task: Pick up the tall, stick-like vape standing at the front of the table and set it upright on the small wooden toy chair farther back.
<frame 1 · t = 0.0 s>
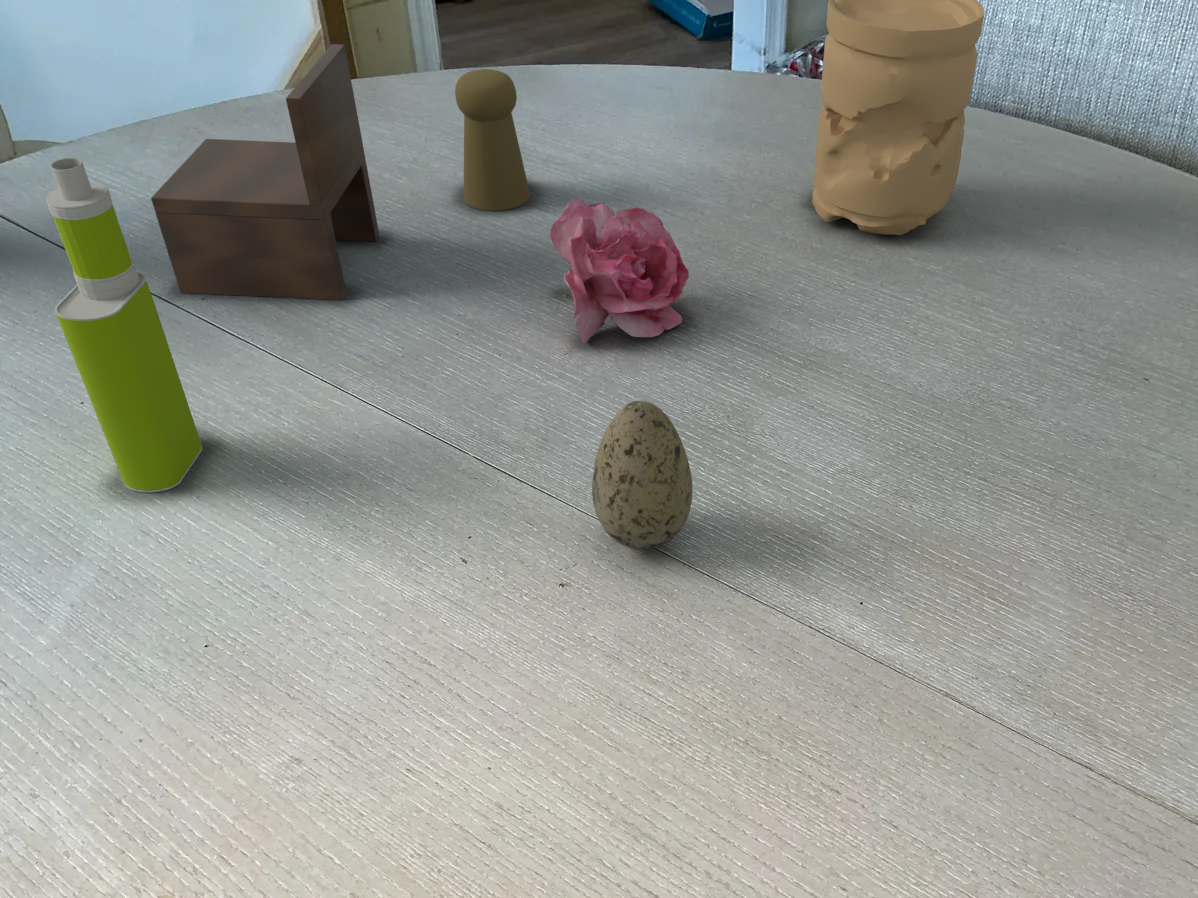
container: (880, 214, 107), on the table
vape: (165, 465, 77), on the table
brown peg doll: (497, 197, 107), on the table
decorative egg: (643, 541, 73), on the table
wooden toy chair: (284, 262, 97), on the table
flower: (625, 319, 92), on the table
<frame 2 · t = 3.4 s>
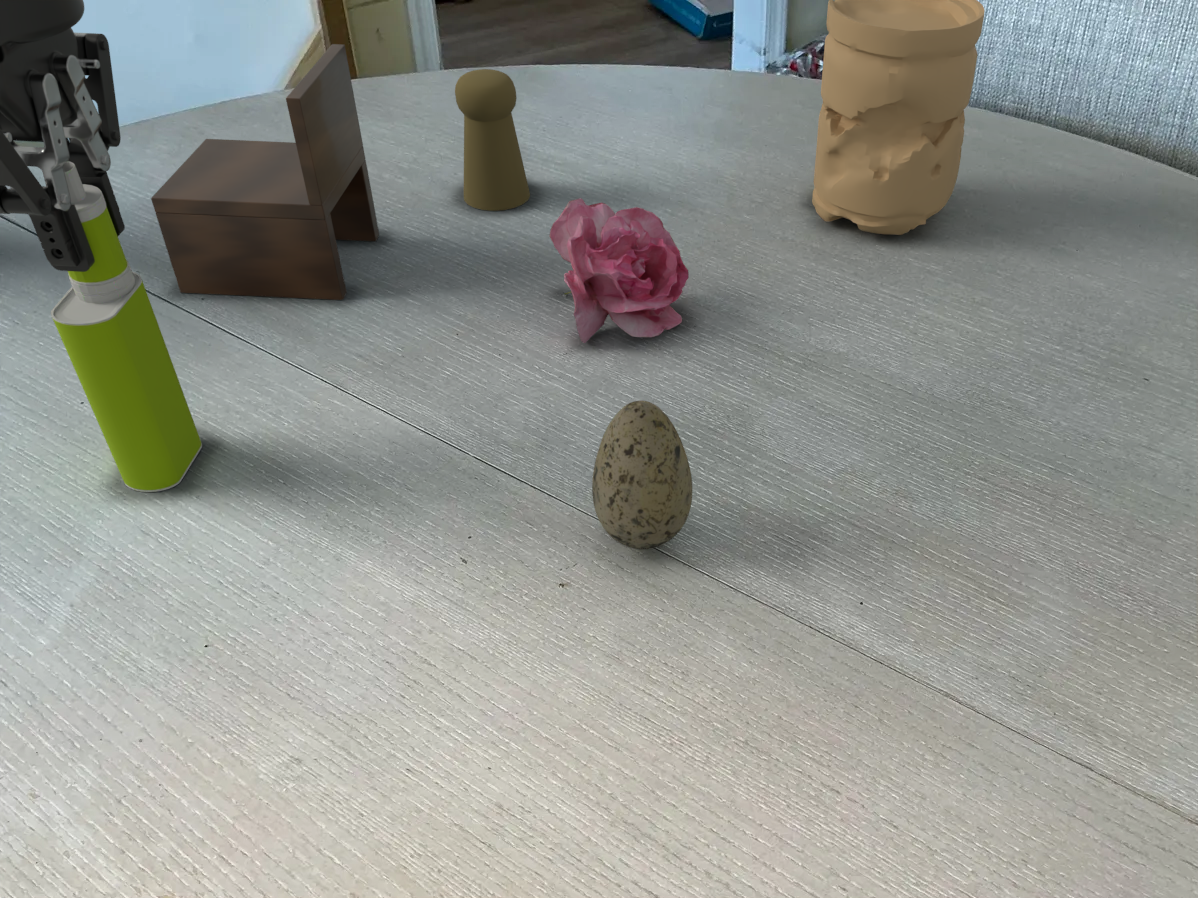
hand: (90, 249, 67), 15 cm above the table, tool pointing down, fingers closed on vape, 3 cm apart
vape: (165, 463, 77), on the table, touching gripper
everything else where it was.
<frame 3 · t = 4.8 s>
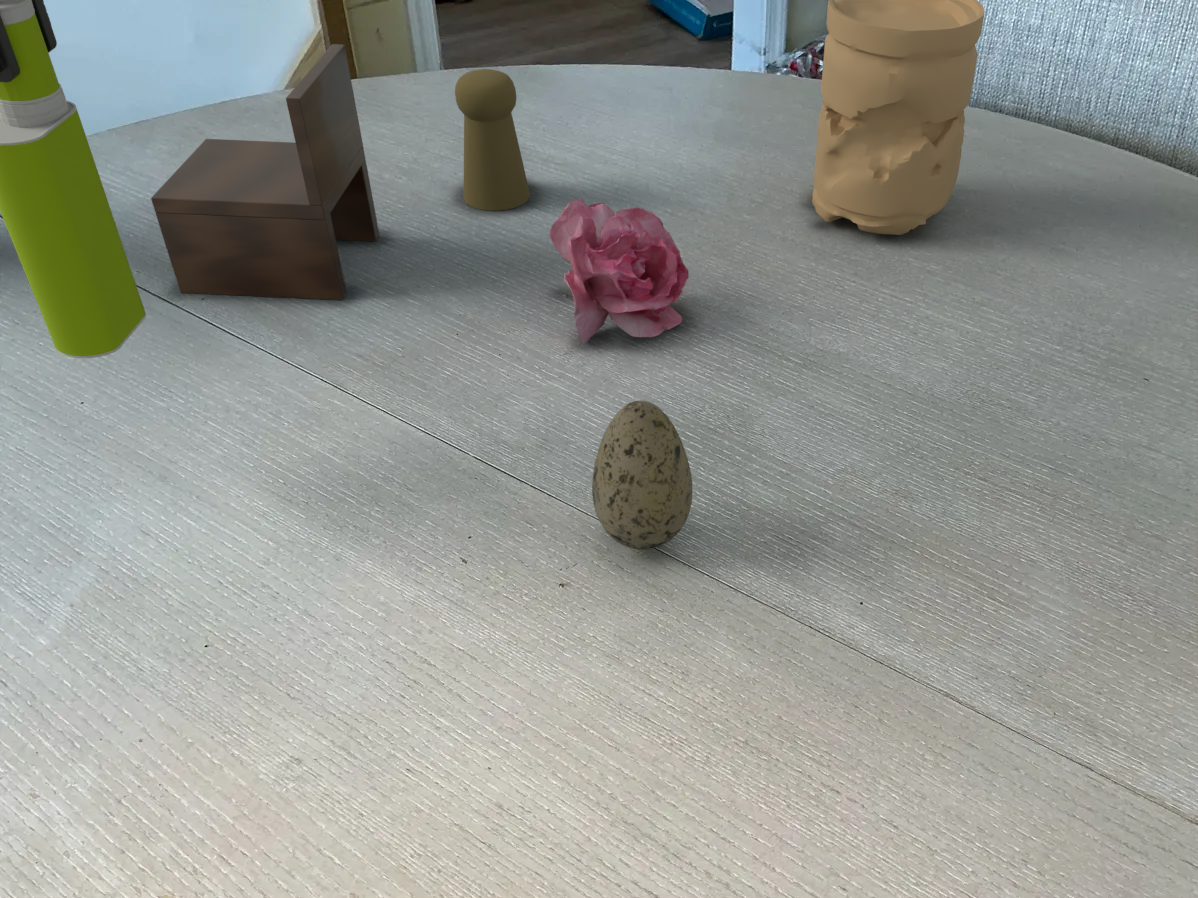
hand: (16, 63, 60), 26 cm above the table, tool pointing down, fingers closed on vape, 3 cm apart
vape: (103, 333, 69), point 10 cm above the table, touching gripper
everything else where it was.
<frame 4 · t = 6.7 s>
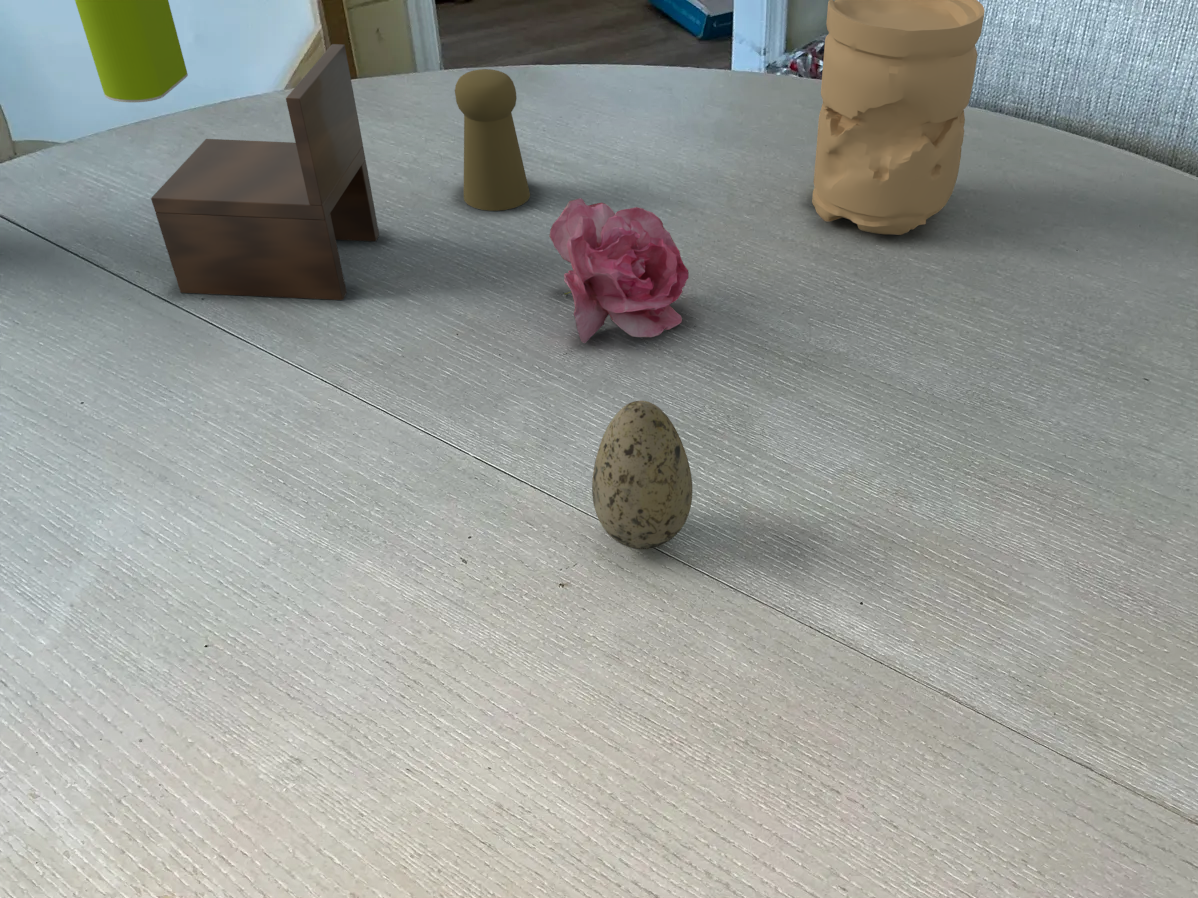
vape: (148, 87, 74), point 19 cm above the table, touching gripper
everything else where it was.
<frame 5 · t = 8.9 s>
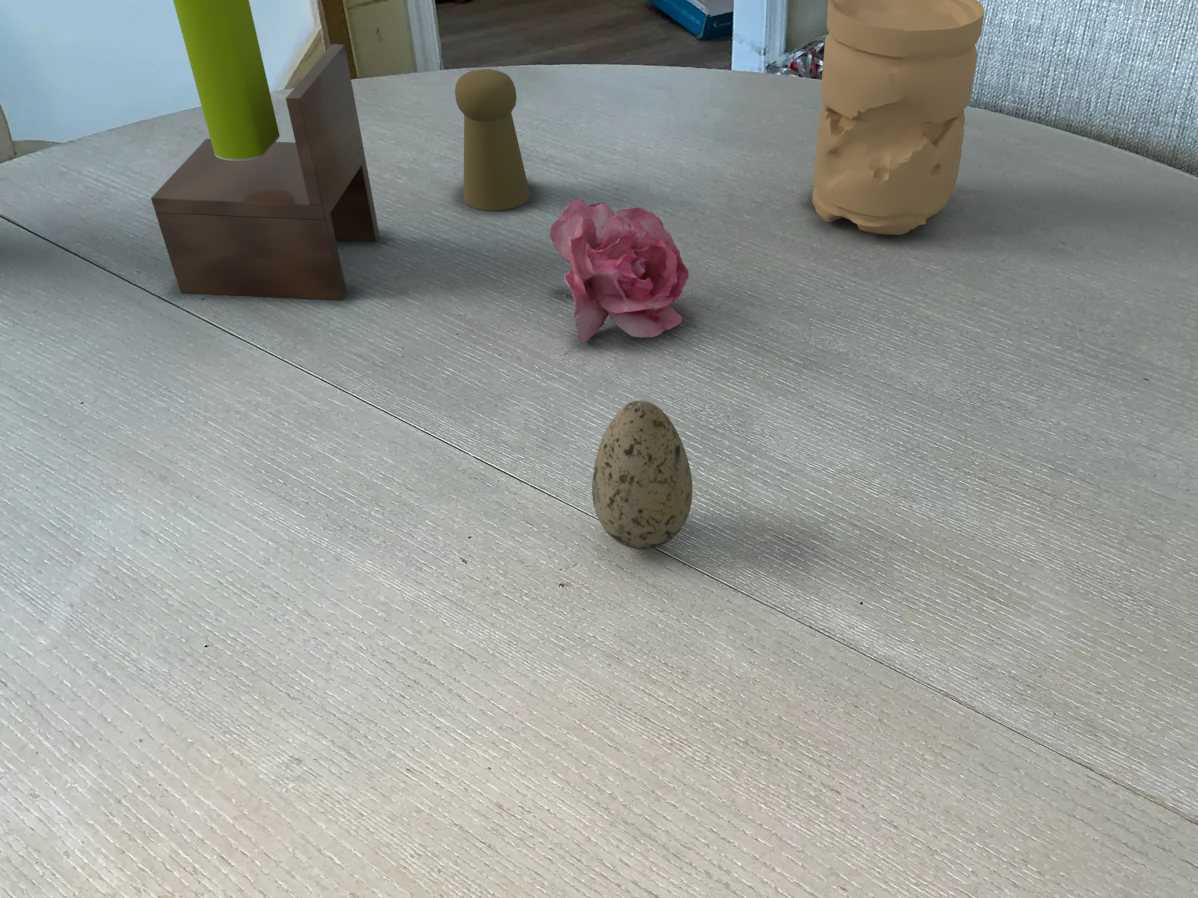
vape: (248, 146, 90), point 10 cm above the table, touching gripper
everything else where it was.
when the fingers open (23 cm above the table, at t = 10.0 s): vape stays where it is, resting on wooden toy chair.
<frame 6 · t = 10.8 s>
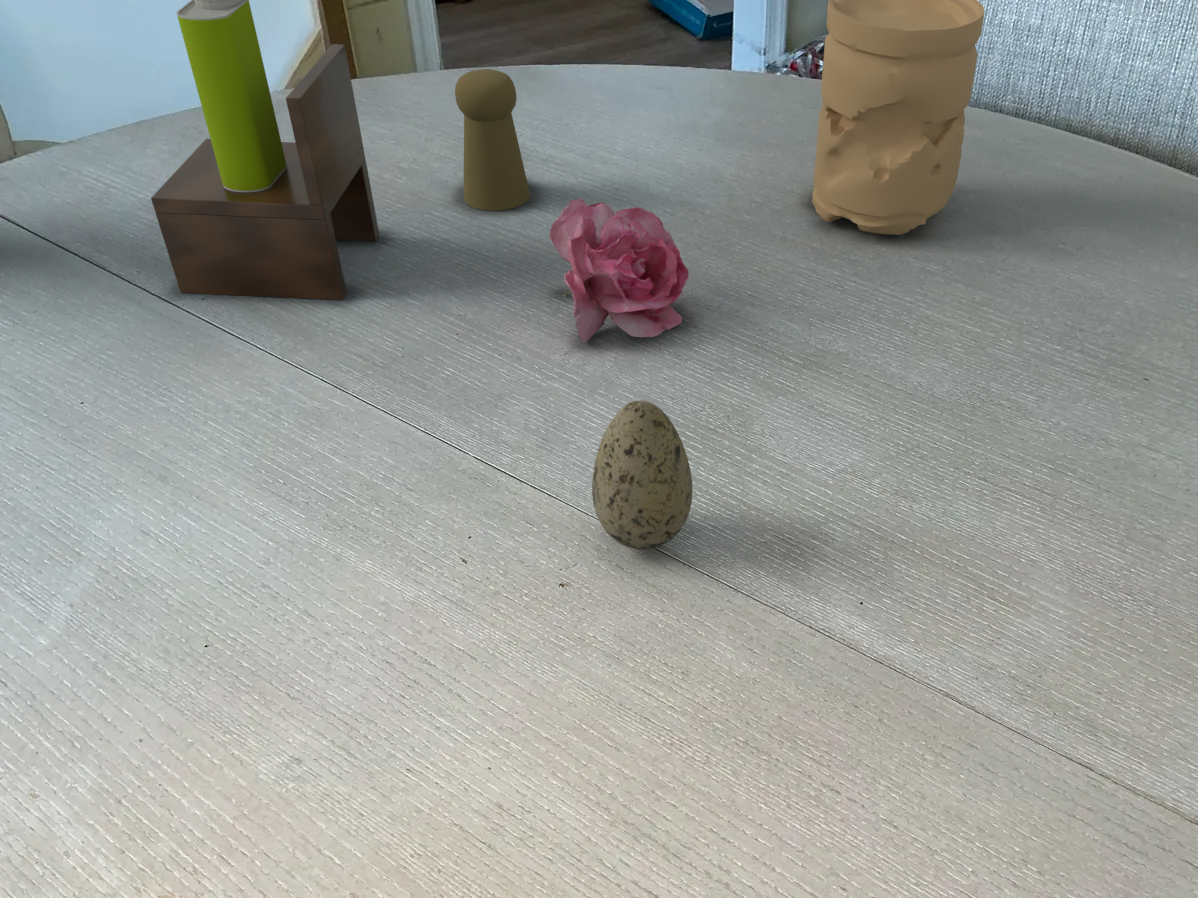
vape: (256, 177, 91), point 8 cm above the table, touching wooden toy chair
everything else where it was.
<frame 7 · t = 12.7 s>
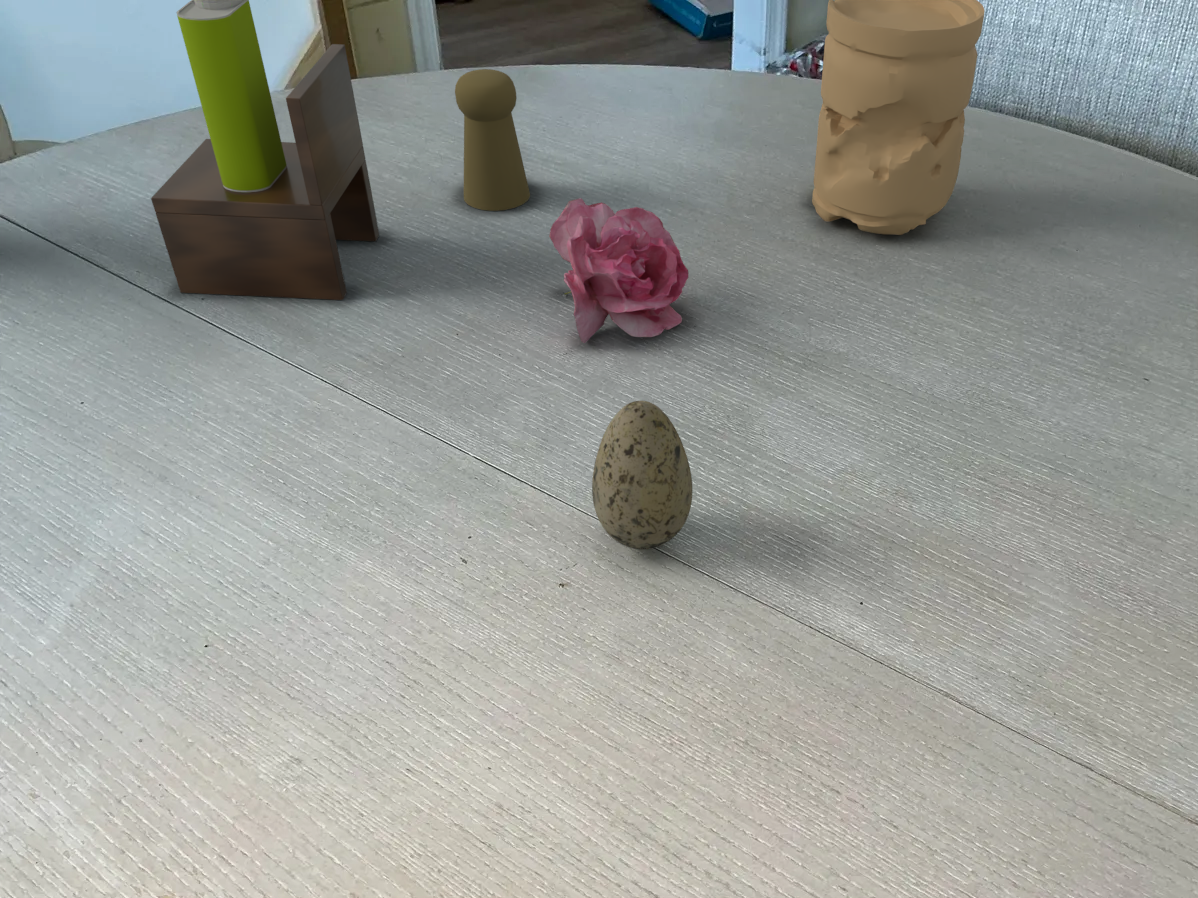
nothing on the table moved.
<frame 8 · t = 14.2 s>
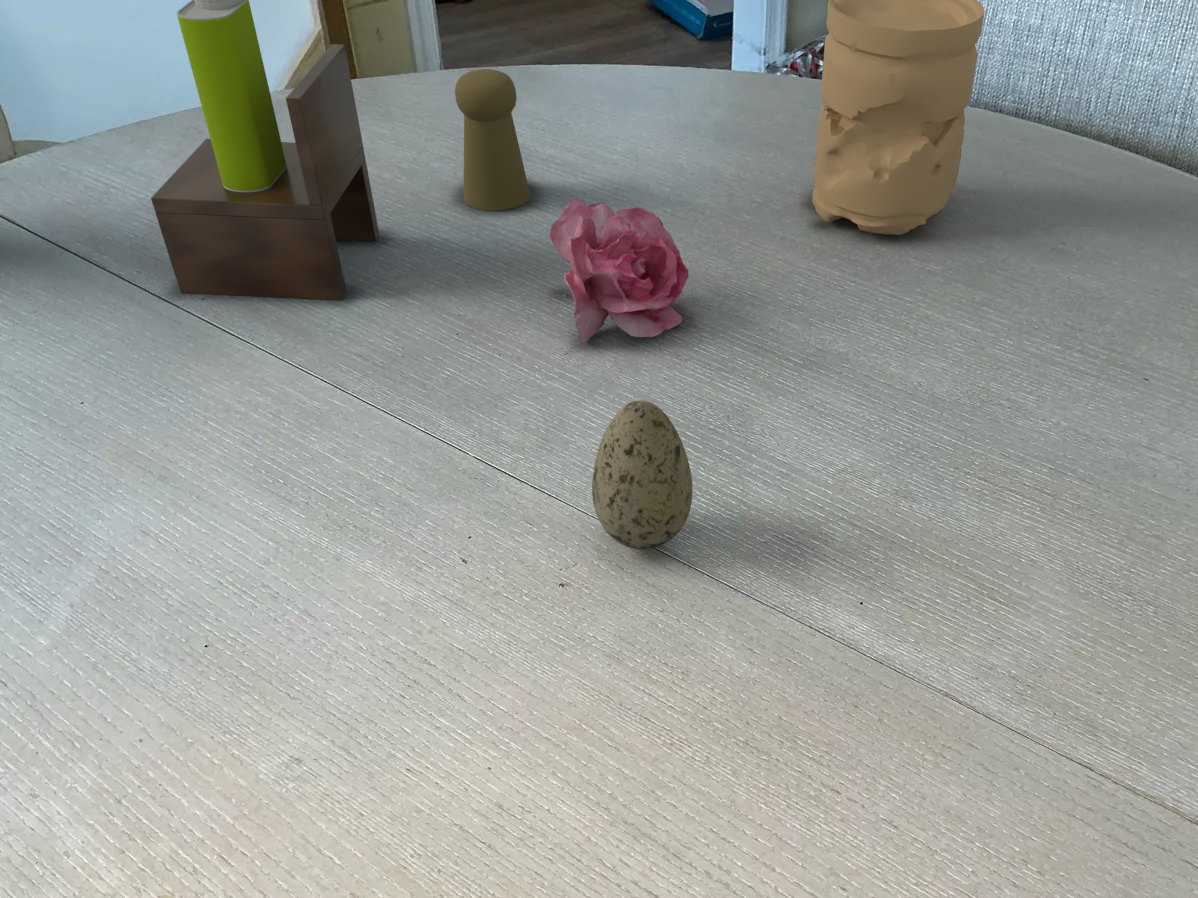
nothing on the table moved.
at the end: vape inside the target area on the wooden toy chair (0.9 cm from its centre), point 7.8 cm above the wooden toy chair's base; vape tilted 0° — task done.
